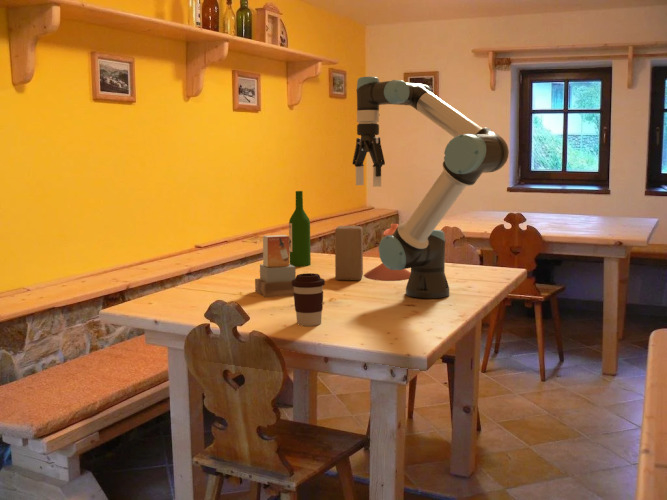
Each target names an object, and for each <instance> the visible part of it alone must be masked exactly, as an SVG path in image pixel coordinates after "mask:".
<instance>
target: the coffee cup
mask: <svg viewBox="0 0 667 500" xmlns="http://www.w3.org/2000/svg"><path fill="white" fill-rule="evenodd" d="M325 283H326V280H325V279H324V278H321V275H320V274H319V273H308V272H306V273H300V274H296V279H294V280H292V286H293V287H294V295H293V299H294V301H293V302H294V311H295V315H296V323H297V325H298V324H299V325H298V326H301V325H303V326H302V327H317V326H319V325H321V324H322V318H323V317H322V315H323V314H322V312H323V306H324V304H323V303H324V286H325Z"/></svg>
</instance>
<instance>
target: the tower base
mask: <svg viewBox="0 0 667 500" xmlns="http://www.w3.org/2000/svg"><path fill="white" fill-rule="evenodd" d="M254 285H255V286H254V287H255V290H254V291H255V293H257V294H259V295H261V296H263V297H264V298H276V297H286V296H287V297H288V296H294V287H293V286H292V282H277V283H266V282H265V281H263V280H261V279H260V278H255V279H254Z"/></svg>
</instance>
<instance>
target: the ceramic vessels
mask: <svg viewBox="0 0 667 500" xmlns="http://www.w3.org/2000/svg"><path fill="white" fill-rule="evenodd" d="M398 226H399V224H398V223H391V224H390V228H387V229H386V230H384V231H383V235H384V237H385V236H387V235H392V234H393V233H394V232H395V230H396V229H397V227H398ZM410 274H411V271H409V270H408V269H402V270H391V269H388V268H387V267H386V266H385V265H384V264H383V263H382V262H381V264H379V265H377V266H376V267H374V268H372V269H371V270H369V271H368V272H366V273H363V277H364V278H365V279H369V280H373V281H382V282H383V281H384V282H385V281H387V282H388V281H389V282H390V281H391V282H392V281H393V282H396V281H407V280H409V277H410Z"/></svg>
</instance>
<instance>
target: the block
mask: <svg viewBox="0 0 667 500" xmlns="http://www.w3.org/2000/svg"><path fill="white" fill-rule="evenodd" d="M363 229H364V228H363V226H361V225H339V226H337V227H336V228H335V230H334V241H335V242H334V253H335V255H334V262H335V263H334V265H335V269H334V270H335V271H334V273H335V275H334V276H335V277H334V278H335V280H337V281H361V280H362V278H363V276H364V271H363V270H364V258H363V257H364V255H363V254H364V253H363V252H364V249H363V248H364V244H363V243H364V240H363V238H364V237H363V236H364V235H363V234H364V233H363Z"/></svg>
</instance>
